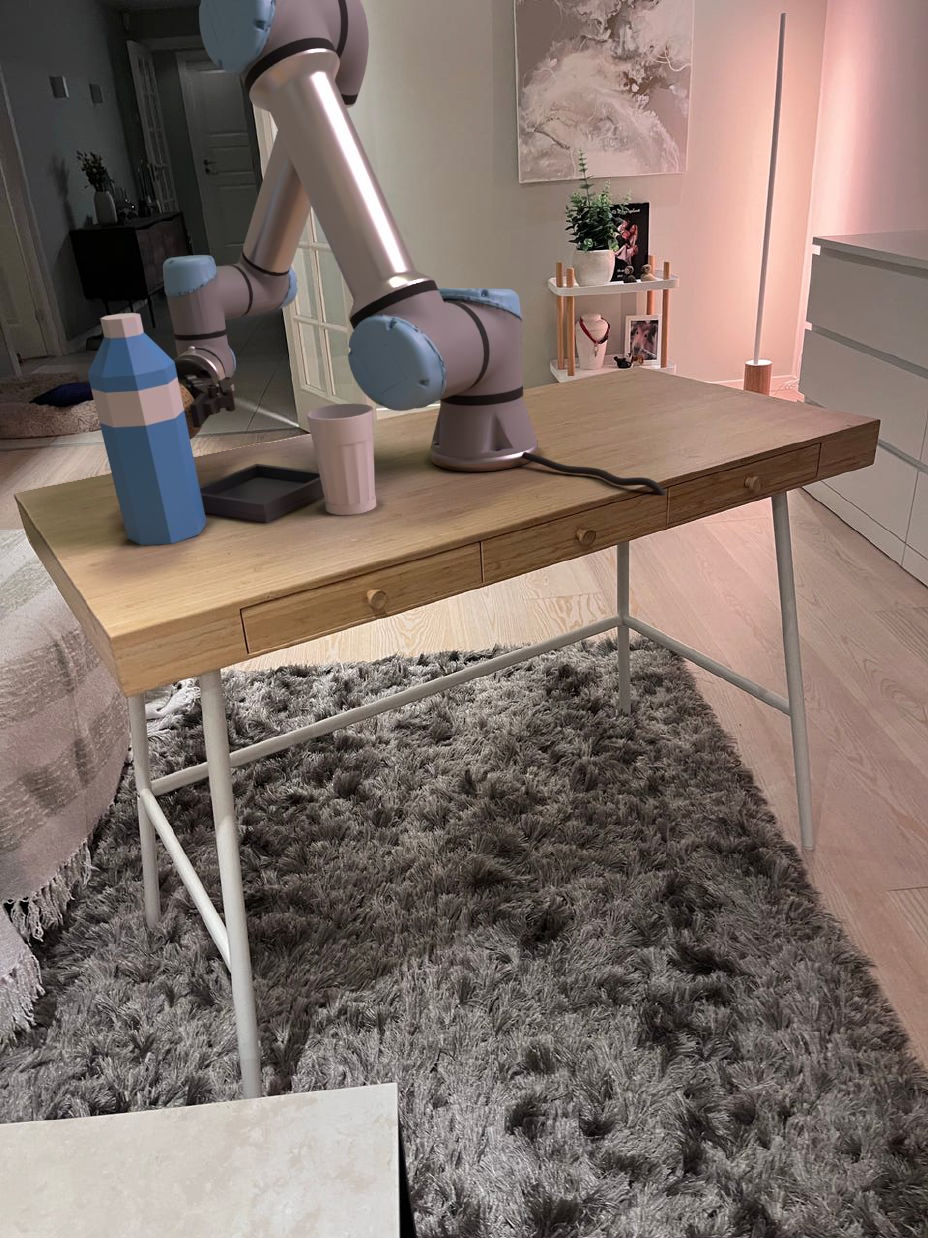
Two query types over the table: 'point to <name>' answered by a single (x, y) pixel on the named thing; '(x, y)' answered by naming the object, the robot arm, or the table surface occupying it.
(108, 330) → the water bottle
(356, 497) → the cup
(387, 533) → the table surface
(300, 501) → the soap dish
